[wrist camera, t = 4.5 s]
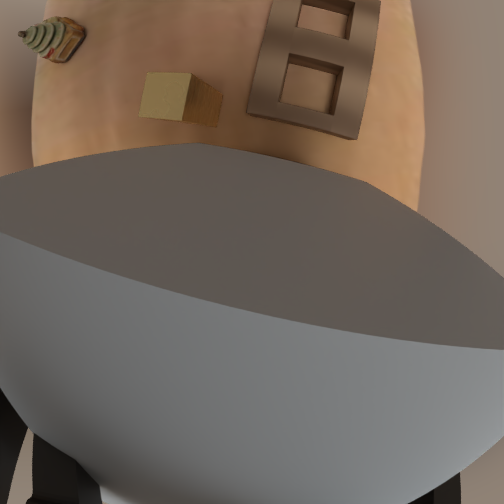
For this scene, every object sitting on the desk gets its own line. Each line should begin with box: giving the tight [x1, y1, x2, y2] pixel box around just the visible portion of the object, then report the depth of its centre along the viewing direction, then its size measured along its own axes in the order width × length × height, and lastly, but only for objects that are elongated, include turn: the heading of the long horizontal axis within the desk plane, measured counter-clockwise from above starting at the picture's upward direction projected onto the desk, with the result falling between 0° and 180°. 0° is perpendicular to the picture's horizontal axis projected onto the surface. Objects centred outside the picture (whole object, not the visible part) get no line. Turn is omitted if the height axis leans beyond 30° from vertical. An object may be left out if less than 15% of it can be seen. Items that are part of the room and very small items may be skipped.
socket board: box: [246, 0, 381, 140], centre depth 20 cm, size 16×10×4 cm, turn 168°
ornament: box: [18, 17, 84, 63], centre depth 18 cm, size 8×6×10 cm
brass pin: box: [138, 72, 223, 127], centre depth 21 cm, size 4×4×10 cm
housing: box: [0, 143, 504, 504], centre depth 10 cm, size 14×9×13 cm, turn 168°
